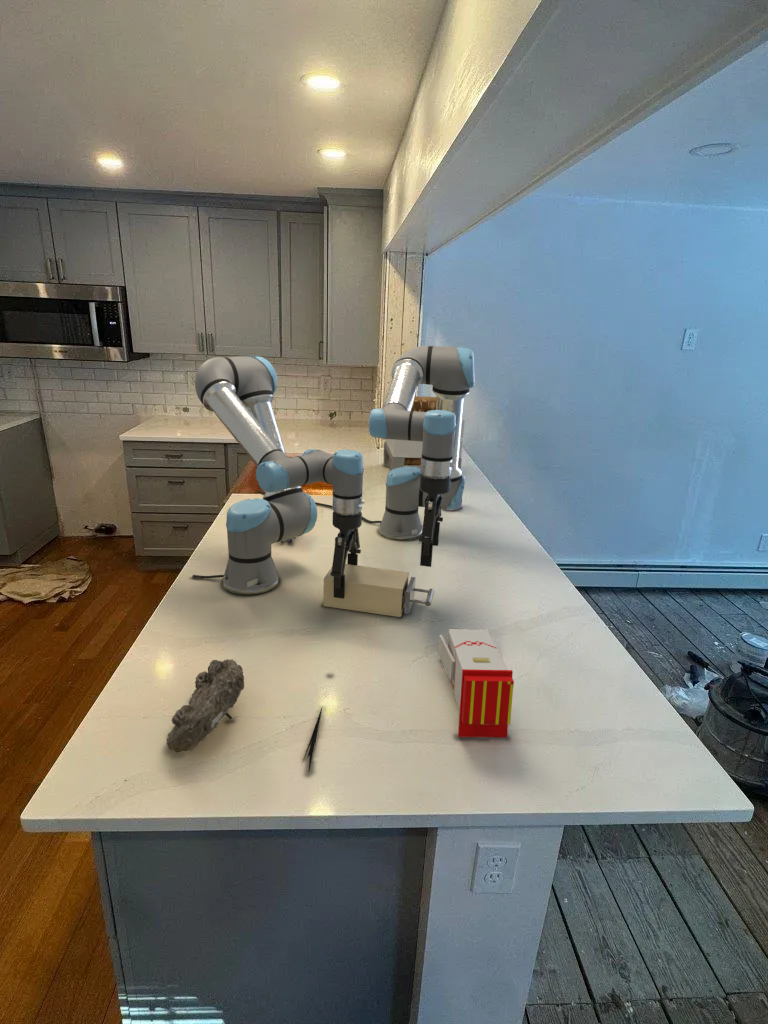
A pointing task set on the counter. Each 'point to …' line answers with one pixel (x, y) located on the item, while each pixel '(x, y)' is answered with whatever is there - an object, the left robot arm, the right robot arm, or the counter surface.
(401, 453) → the transformer
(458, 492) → the right robot arm
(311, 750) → the feather
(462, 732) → the toy
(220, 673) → the fossil
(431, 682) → the counter surface
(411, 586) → the drawer
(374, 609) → the cabinet
